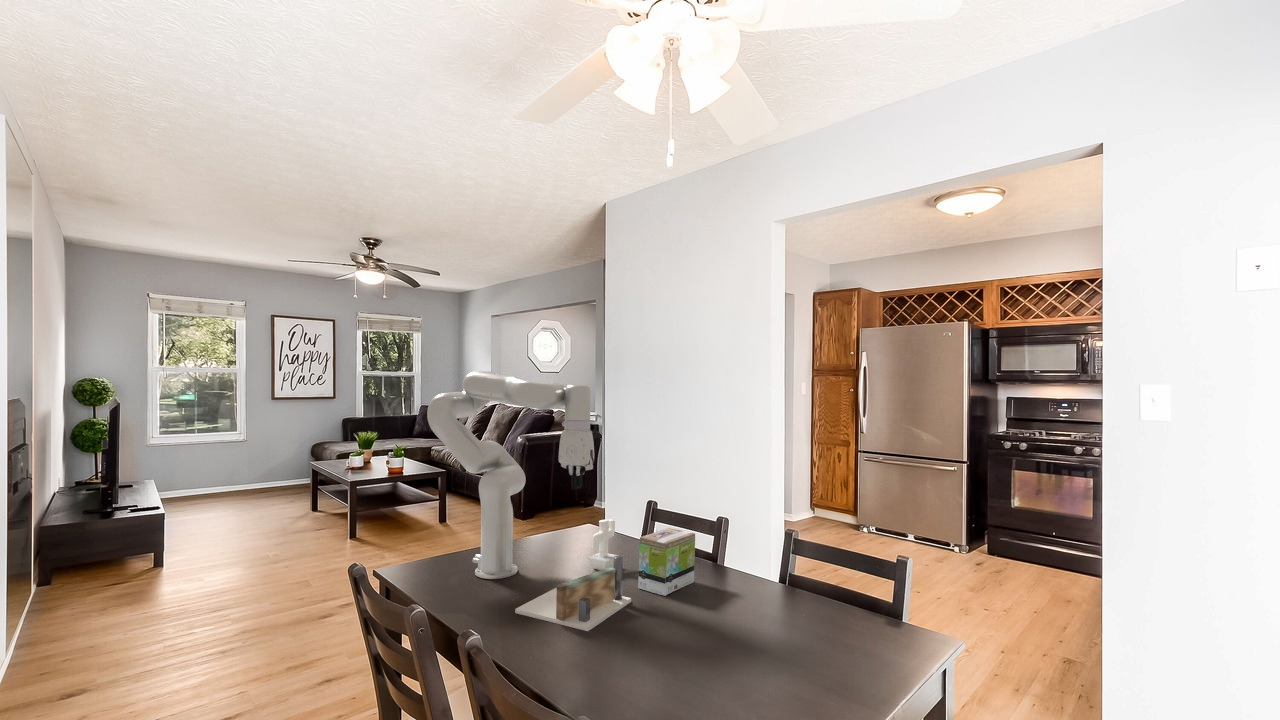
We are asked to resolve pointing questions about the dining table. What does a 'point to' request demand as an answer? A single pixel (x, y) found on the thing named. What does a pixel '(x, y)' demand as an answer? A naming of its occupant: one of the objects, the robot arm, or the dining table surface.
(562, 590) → the gate
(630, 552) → the dining table surface
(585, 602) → the hinge post
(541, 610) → the board
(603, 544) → the figurine
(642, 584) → the tea box
